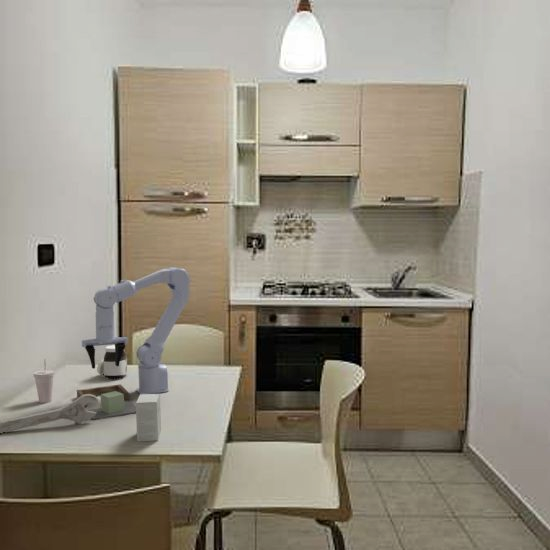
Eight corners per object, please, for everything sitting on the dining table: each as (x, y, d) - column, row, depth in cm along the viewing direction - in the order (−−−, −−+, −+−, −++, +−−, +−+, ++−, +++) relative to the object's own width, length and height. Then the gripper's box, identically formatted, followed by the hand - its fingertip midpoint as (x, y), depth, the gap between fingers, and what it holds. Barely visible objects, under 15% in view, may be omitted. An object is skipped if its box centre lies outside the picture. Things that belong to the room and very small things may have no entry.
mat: (132, 404, 184) (132, 403, 184) (139, 412, 176) (139, 410, 176) (86, 411, 177) (86, 410, 177) (92, 420, 169) (92, 418, 169)
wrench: (-11, 444, 160) (101, 418, 169) (-12, 446, 158) (101, 419, 168) (-17, 416, 159) (97, 391, 168) (-17, 418, 157) (97, 393, 167)
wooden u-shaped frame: (120, 391, 200) (120, 384, 199) (129, 400, 189) (128, 392, 189) (77, 397, 193) (76, 390, 193) (83, 407, 182) (82, 399, 182)
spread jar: (122, 380, 214) (121, 349, 214) (92, 380, 215) (90, 349, 214) (130, 372, 226) (129, 343, 226) (102, 372, 227) (100, 343, 226)
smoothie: (48, 404, 185) (46, 361, 184) (30, 403, 187) (28, 361, 186) (59, 399, 192) (57, 357, 191) (42, 398, 193) (40, 356, 192)
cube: (116, 406, 180) (115, 391, 180) (124, 410, 177) (123, 394, 176) (101, 410, 177) (100, 394, 176) (109, 414, 173) (108, 397, 173)
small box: (140, 431, 159) (139, 393, 158) (161, 430, 160) (160, 393, 159) (136, 442, 151) (135, 402, 150) (158, 441, 152) (156, 401, 151)
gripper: (124, 322, 197) (124, 362, 198) (79, 325, 191) (80, 366, 192) (129, 325, 191) (129, 366, 192) (83, 328, 185) (84, 370, 185)
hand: (105, 366), depth 191 cm, fingers open, 7 cm apart
